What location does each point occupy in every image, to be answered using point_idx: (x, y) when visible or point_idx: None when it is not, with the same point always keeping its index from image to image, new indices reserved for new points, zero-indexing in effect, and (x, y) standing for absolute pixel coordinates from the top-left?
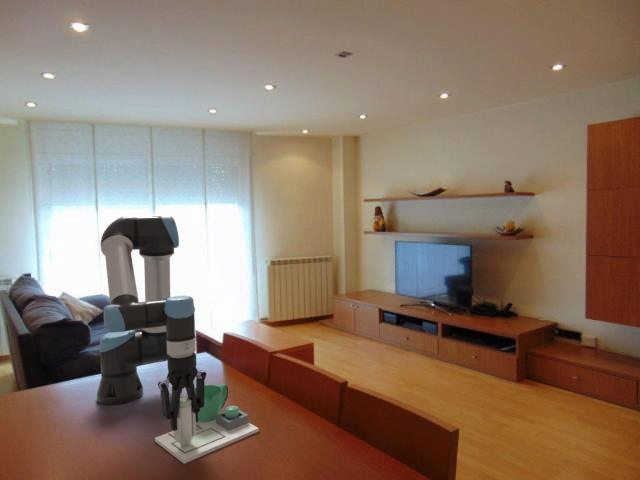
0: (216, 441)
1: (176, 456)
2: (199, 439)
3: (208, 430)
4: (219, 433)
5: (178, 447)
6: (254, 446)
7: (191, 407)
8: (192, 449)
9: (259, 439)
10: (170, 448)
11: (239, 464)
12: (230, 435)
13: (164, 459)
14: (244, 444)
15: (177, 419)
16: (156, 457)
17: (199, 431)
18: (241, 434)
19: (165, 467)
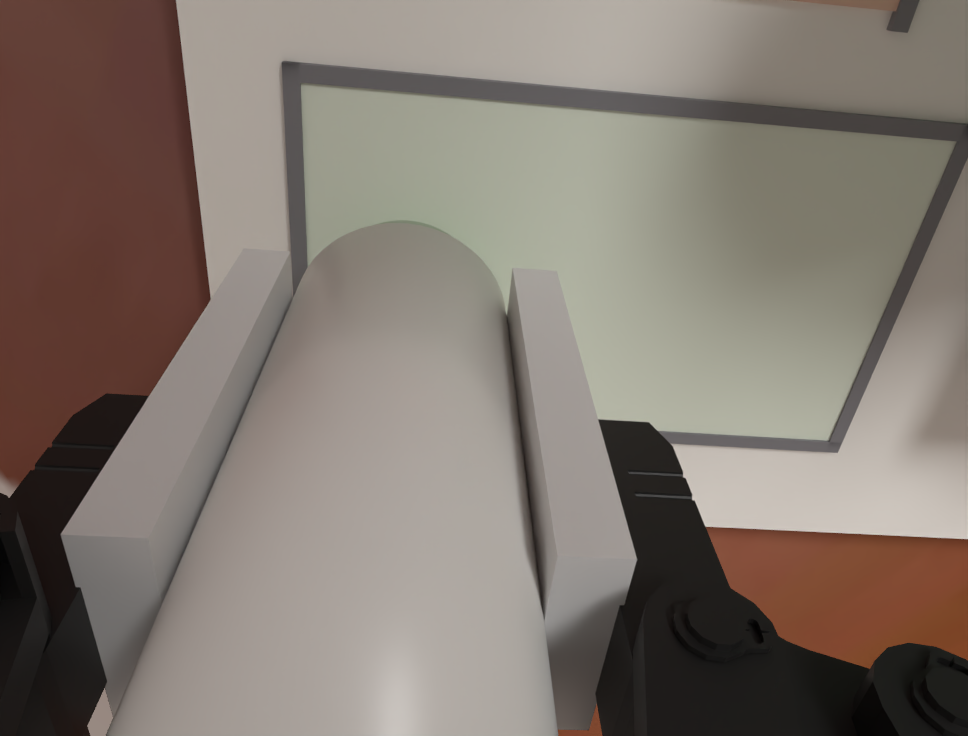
0: (700, 457)
1: None
2: (619, 289)
3: (888, 165)
4: (869, 355)
5: (306, 262)
6: (835, 653)
7: (650, 686)
8: None
9: (963, 611)
10: (217, 181)
11: (562, 731)
12: (886, 464)
13: (103, 262)
14: (828, 588)
15: (116, 689)
16: (24, 137)
17: (808, 66)
18: (951, 525)
19: (63, 405)
